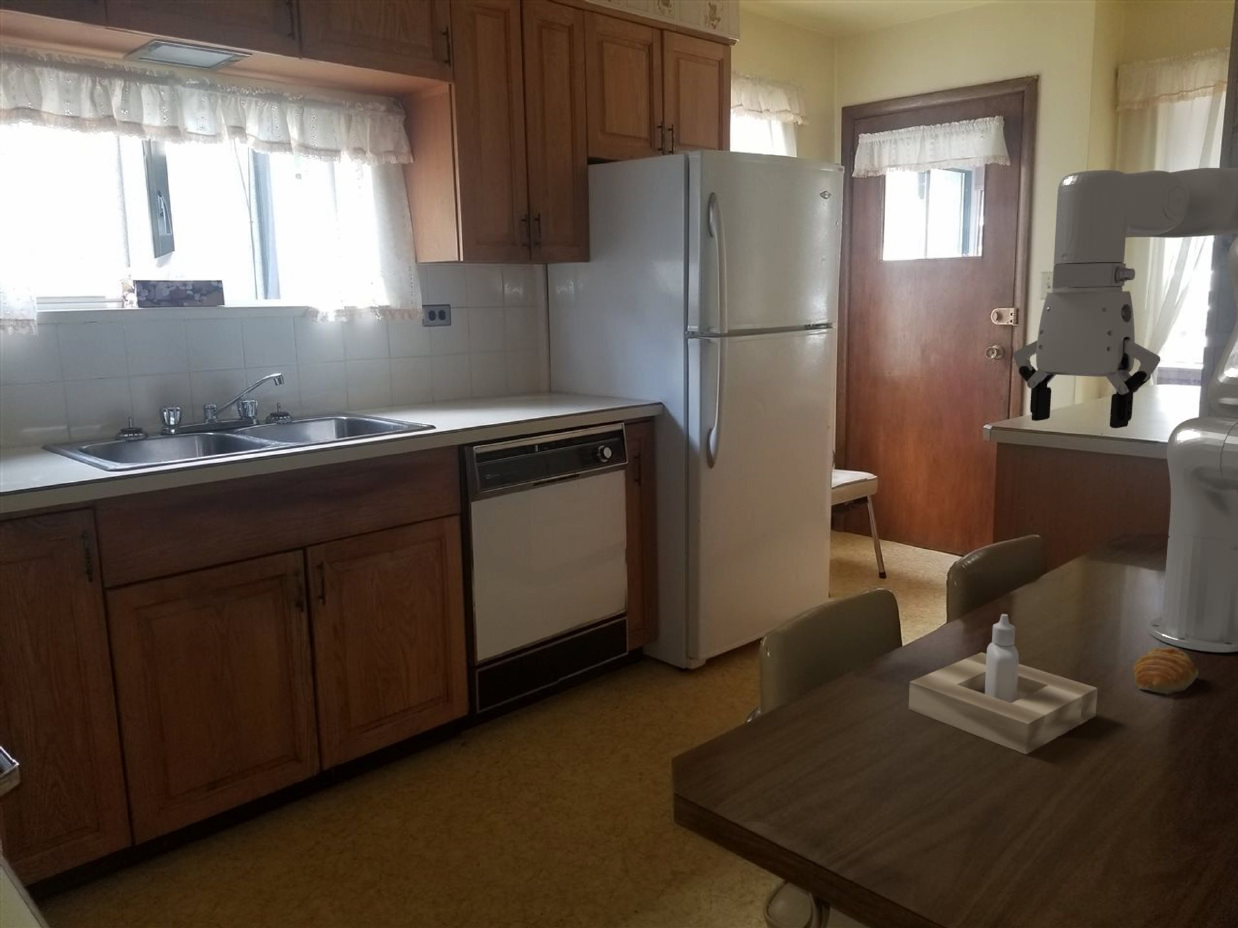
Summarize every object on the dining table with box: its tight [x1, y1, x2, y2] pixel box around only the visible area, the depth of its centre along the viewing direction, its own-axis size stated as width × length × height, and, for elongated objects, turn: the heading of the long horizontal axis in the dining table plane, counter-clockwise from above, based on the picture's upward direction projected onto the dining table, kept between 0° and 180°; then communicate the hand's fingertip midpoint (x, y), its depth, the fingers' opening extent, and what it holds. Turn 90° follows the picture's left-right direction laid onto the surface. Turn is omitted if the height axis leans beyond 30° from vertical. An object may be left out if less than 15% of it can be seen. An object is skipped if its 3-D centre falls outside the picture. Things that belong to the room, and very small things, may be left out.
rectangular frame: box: [908, 652, 1098, 755], centre depth 113 cm, size 15×15×4 cm
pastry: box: [1132, 647, 1199, 695], centre depth 121 cm, size 9×7×4 cm
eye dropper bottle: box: [985, 613, 1020, 703], centre depth 113 cm, size 4×6×12 cm
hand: (1078, 423), depth 116 cm, fingers open, 9 cm apart
